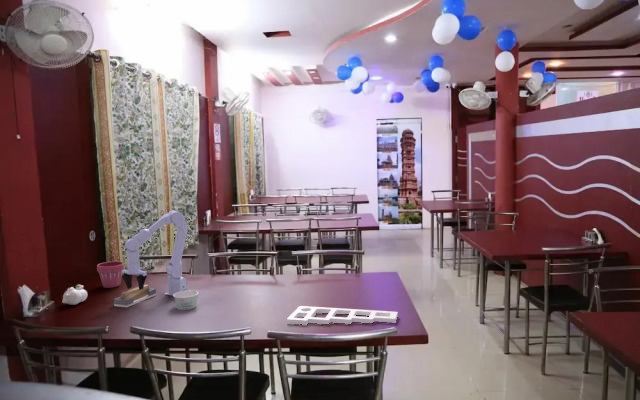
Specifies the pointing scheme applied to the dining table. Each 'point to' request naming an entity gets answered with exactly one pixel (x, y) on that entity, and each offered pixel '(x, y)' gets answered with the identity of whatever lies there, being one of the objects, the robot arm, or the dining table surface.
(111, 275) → the plant pot
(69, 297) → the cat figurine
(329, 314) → the holder
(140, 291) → the oak slat
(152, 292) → the cradle
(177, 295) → the food container
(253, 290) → the dining table surface
